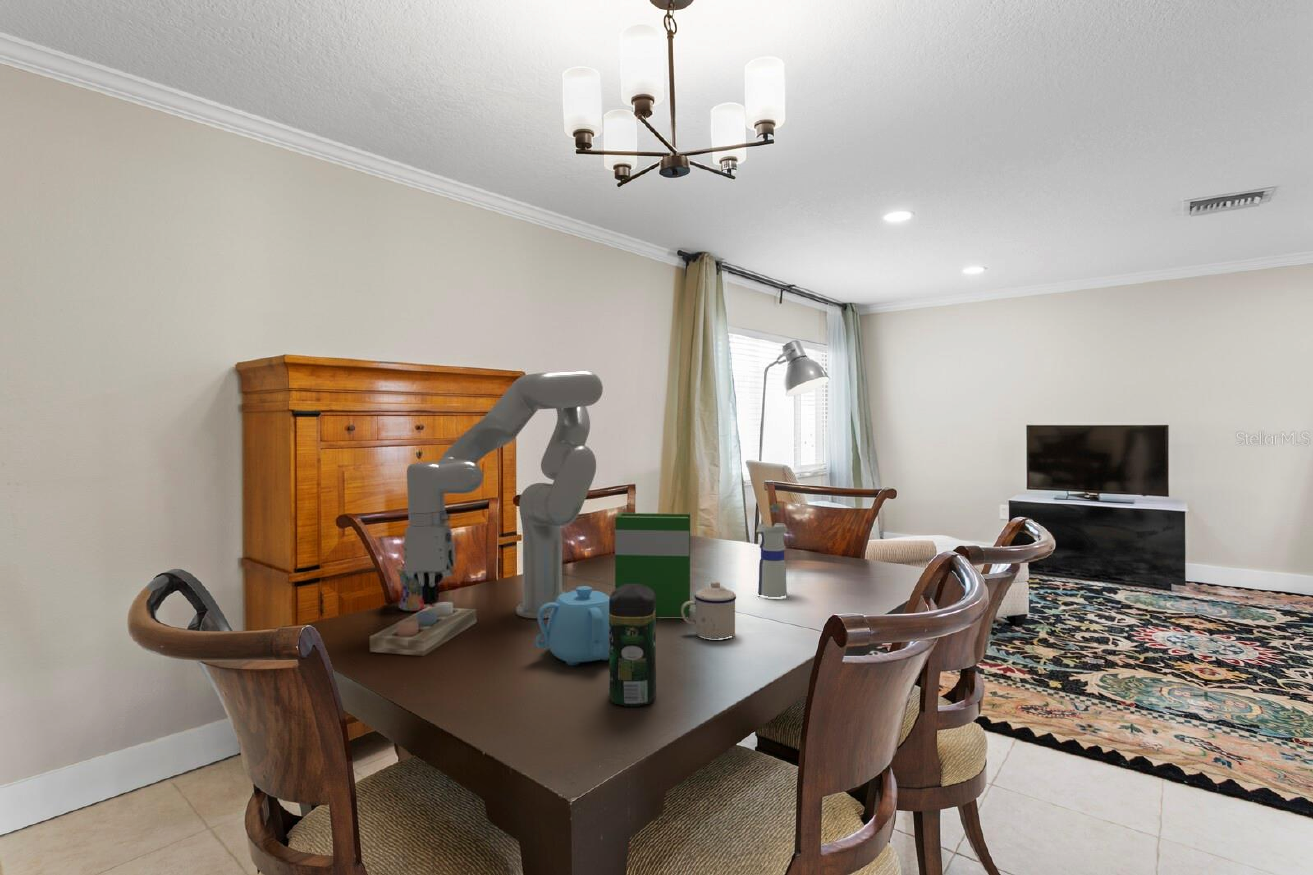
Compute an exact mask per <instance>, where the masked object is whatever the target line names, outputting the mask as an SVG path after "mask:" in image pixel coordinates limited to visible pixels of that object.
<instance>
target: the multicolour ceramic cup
mask: <svg viewBox="0 0 1313 875" xmlns="http://www.w3.org/2000/svg"><path fill="white" fill-rule="evenodd" d="M396 571H397V574H398V576H399V579H400V583H401V598H400V601H399V603H398V609H401V610H402V611H405V612H420V611H422V610H423V609H425V608H427V607H429V606H430V607H434V605H435V603H433V604H432V605H428V604H427V605H424V603H423V598H422V586H420V585H419V582H418V581H417V580H416V579H415V577H410V576H407V575H406V569H405V565H404V564H400V565H398V566H396Z"/></svg>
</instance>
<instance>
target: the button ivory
mask: <svg viewBox="0 0 1313 875" xmlns="http://www.w3.org/2000/svg"><path fill="white" fill-rule="evenodd" d="M433 607H434V611H436V616H444V617H449V616H450V615H452V614H453V608H454V603H453V602H451V601H440V602H435V603H434V605H433Z"/></svg>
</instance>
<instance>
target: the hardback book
mask: <svg viewBox="0 0 1313 875" xmlns="http://www.w3.org/2000/svg"><path fill="white" fill-rule="evenodd" d="M614 521H615V522H614V526H615V527H614V529H615V531H614V532H615V534H614V536H615V537H614V538H615V539H614V541H615V543H614V544H615V546H614V551H615V552H614V557H615V559H614V560H615V562H614V564H615V565H614V576H615V577H614V579H615V580H614V583H615V585H614V590H615V589H617V588H619V587H620V586H622V585H623V584H645V585H646V586H647V587H649V588H650V589H652V590H653V591H654V593H655V596H656V597H655V614H656V617H682V614H681V608H682V605H683V604H684V603H685V602H688V601H691V513H659V512H658V513H653V512H652V513H649V512H648V513H647V512H646V513H643V512H639V513H637V512H620V513H618V514H617V515H616V516H615V518H614ZM689 609H690V610H691V605H688V606H686V607H685V609H684V613H685V615H686V617H689V618H690V611H689Z"/></svg>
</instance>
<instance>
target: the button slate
mask: <svg viewBox="0 0 1313 875" xmlns="http://www.w3.org/2000/svg"><path fill="white" fill-rule="evenodd" d="M421 611H422V610H421ZM418 612H419V613H418ZM418 612H416V613H417V621H418V626H433V625H434V624H436V623H437V618H436V611H422V612H420V611H418Z"/></svg>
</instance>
